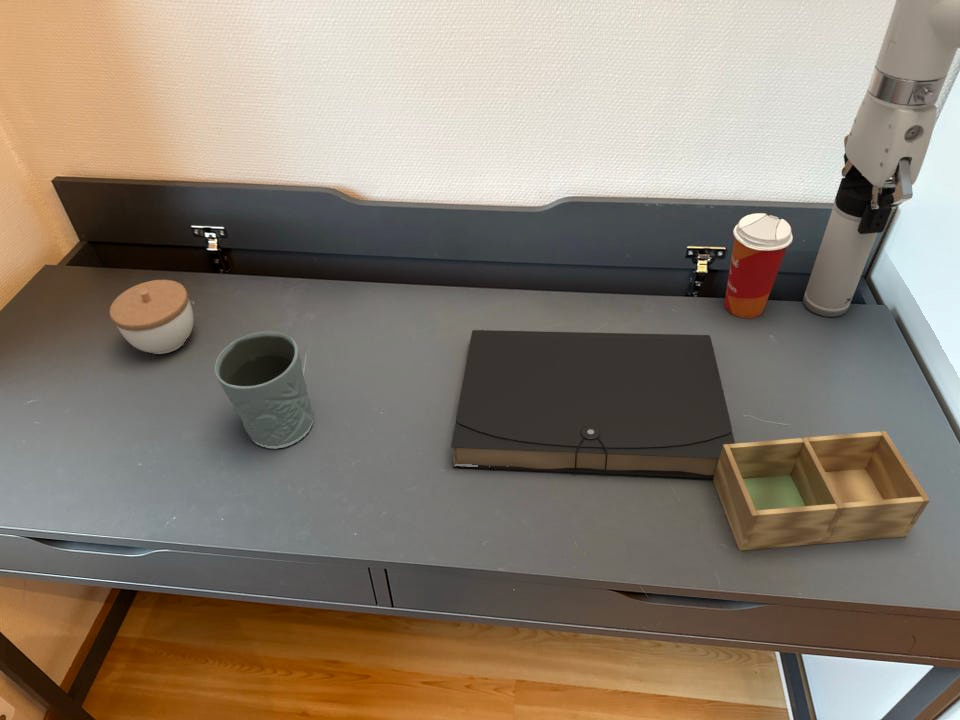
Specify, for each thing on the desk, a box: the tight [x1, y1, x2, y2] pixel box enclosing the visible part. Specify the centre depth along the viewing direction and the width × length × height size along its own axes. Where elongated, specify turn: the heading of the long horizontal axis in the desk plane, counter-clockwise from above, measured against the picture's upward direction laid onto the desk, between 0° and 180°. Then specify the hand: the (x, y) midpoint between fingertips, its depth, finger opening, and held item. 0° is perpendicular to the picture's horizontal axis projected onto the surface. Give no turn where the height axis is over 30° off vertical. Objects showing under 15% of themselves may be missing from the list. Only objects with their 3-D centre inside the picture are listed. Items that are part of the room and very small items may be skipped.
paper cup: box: [724, 212, 794, 319], centre depth 100 cm, size 8×8×14 cm
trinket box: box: [109, 279, 195, 354], centre depth 103 cm, size 11×11×9 cm
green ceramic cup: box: [213, 331, 314, 446], centre depth 89 cm, size 10×10×12 cm
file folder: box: [450, 329, 736, 479], centre depth 92 cm, size 33×4×24 cm
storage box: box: [712, 430, 931, 552], centre depth 77 cm, size 18×9×7 cm, turn 94°
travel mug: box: [802, 175, 892, 318], centre depth 98 cm, size 6×7×20 cm
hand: (857, 216), depth 94 cm, fingers closed on travel mug, 6 cm apart
